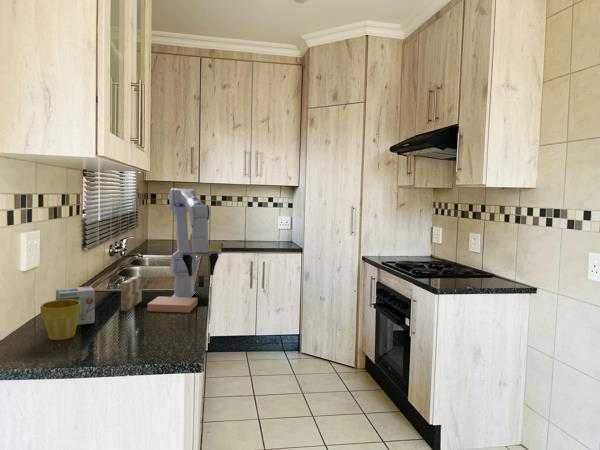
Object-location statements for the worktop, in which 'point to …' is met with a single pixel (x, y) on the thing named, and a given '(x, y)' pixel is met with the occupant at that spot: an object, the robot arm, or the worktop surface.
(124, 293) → the bookend
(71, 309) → the plant pot
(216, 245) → the banana
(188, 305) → the book
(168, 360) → the worktop surface
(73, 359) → the worktop surface
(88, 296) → the light bulb box
